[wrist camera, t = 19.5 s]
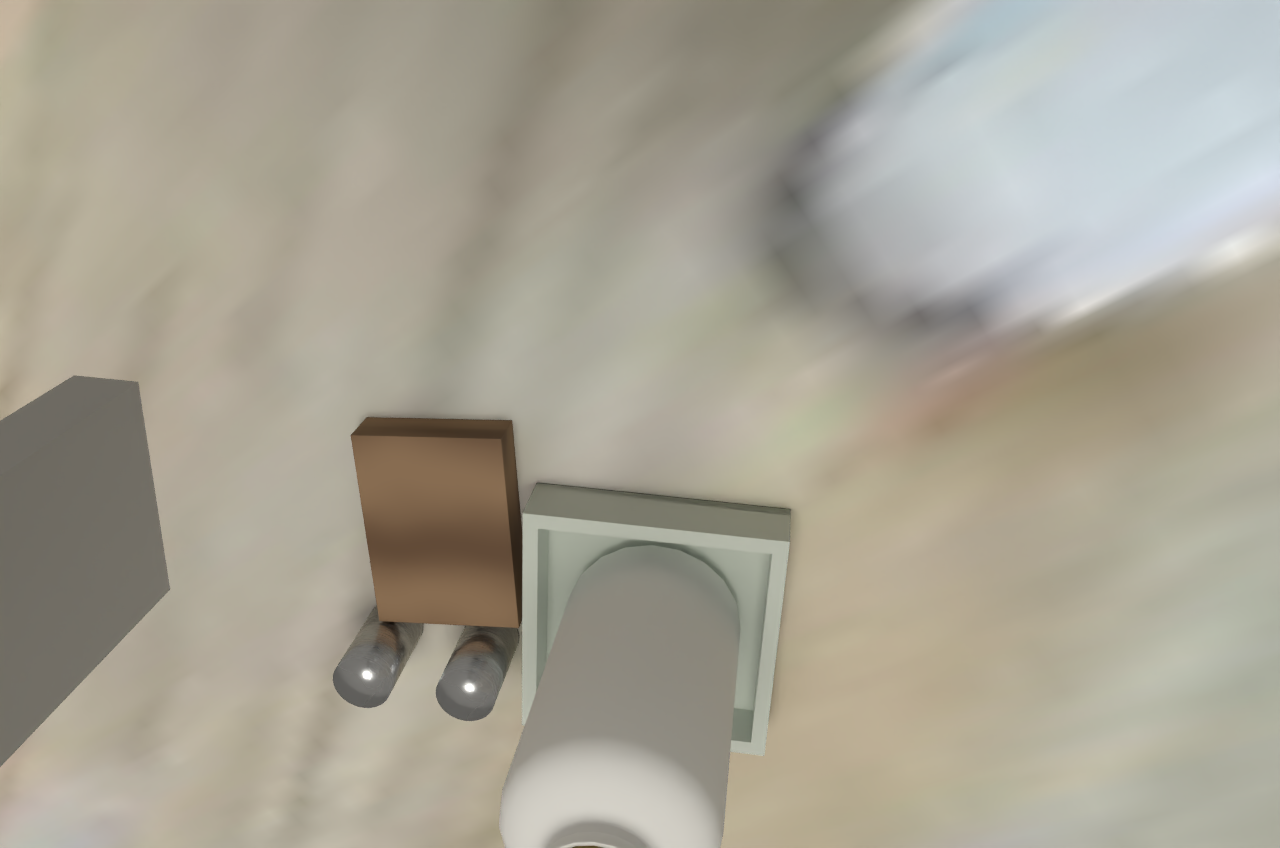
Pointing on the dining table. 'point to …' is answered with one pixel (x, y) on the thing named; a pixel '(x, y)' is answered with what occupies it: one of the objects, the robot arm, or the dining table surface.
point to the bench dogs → (462, 684)
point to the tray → (707, 530)
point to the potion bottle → (631, 712)
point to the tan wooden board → (442, 519)
